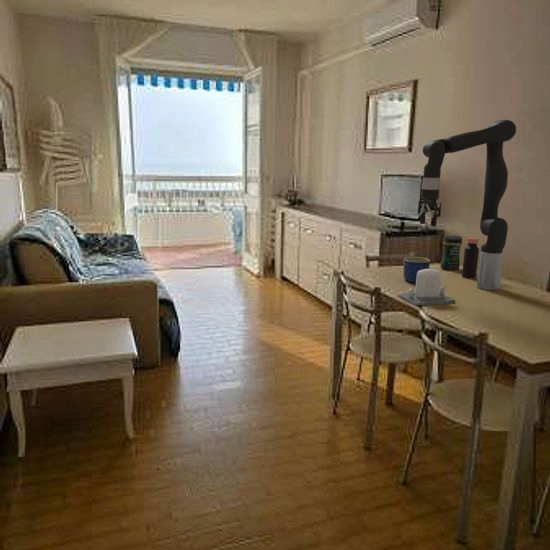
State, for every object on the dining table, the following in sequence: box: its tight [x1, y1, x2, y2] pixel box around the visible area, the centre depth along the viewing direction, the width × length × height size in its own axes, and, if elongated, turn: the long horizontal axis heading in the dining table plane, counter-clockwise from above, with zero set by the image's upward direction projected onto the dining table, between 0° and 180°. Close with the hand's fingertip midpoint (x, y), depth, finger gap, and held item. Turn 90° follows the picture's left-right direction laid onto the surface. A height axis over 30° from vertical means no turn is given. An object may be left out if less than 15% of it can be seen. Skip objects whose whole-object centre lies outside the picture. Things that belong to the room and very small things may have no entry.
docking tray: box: [397, 285, 456, 307], centre depth 206 cm, size 19×14×5 cm
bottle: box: [461, 237, 480, 279], centre depth 244 cm, size 7×7×20 cm
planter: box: [403, 256, 431, 284], centre depth 237 cm, size 12×12×11 cm
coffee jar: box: [439, 235, 463, 271], centre depth 262 cm, size 10×8×19 cm
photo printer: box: [414, 268, 442, 298], centre depth 204 cm, size 10×4×12 cm, turn 99°
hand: (427, 225), depth 214 cm, fingers open, 8 cm apart
